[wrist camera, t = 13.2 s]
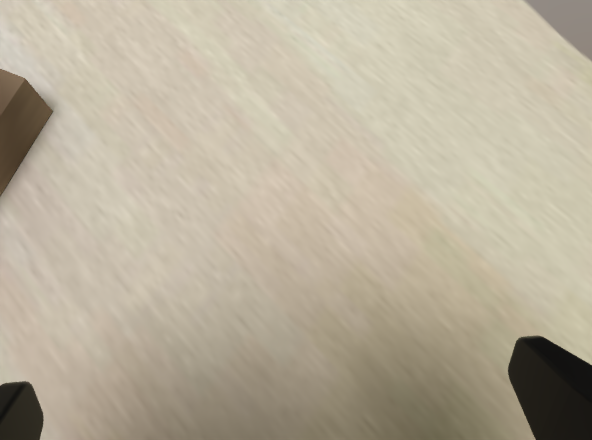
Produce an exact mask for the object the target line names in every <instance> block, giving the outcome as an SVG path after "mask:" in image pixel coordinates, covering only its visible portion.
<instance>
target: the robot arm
mask: <svg viewBox="0 0 592 440" xmlns="http://www.w3.org/2000/svg"><path fill="white" fill-rule="evenodd" d="M508 375H509V379H510V381H511V384H512V386H513V388H514V391H515V393H516V395H517V398H518V400H519V402H520V405H521V407H522V409H523V412H524V414H525V416H526V418H527V421H528V423H529V425H530V428H531V430H532V432H533V435H534V437H535V439H536V440H592V365H590V364H589V363H587V362H585V361H584V360H582V359H580V358H578V357H577V356H575V355H573V354H572V353H570V352H568V351H566V350H565V349H563V348H561V347H560V346H558V345H556V344H554V343H553V342H551V341H549V340H548V339H546V338H544V337H542V336H527V337H520V338H519V339H518V340H517V341H516V344H515V347H514V350H513V353H512V356H511V360H510V363H509V366H508ZM42 427H43V412H42V409H41V406H40V404H39V401H38V399H37V396H36V394H35V391H34V389H33V386H32V385H31V384H30V383H29V382H26V381H23V382H12V383H5V384H2V385H1V386H0V440H40V436H41V432H42Z"/></svg>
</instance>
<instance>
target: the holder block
mask: <svg viewBox="0 0 592 440" xmlns="http://www.w3.org/2000/svg"><path fill="white" fill-rule="evenodd" d="M52 112H53V111H52V110H51V109H50V107H49V106H48V105H47V104H46V103H45V102H44V100H43V99H42V98H41V97H40V96H39V94H38V93H37V92H36V91H35V90H34V88H33V87H32V86H31V85H30V84H29V82H28V81H27V80H26V79H25V78H23V77H20V76H18V75H15V74H12V73H10V72H7V71H5V70H2V69H0V195H1V194H2V192H3V191H4V189H5V187H6V186H7V184H8V183H9V181H10V179H11V178H12V176H13V174H14V173H15V171H16V170H17V168H18V166H19V165H20V163H21V162H22V160H23V158H24V157H25V155H26V154H27V152H28V150H29V149H30V147H31V145H32V144H33V142H34V141H35V139H36V137H37V136H38V134H39V133H40V131H41V129H42V128H43V126H44V124H45V123H46V121H47V120H48V118H49V116H50V115H51V113H52Z"/></svg>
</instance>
